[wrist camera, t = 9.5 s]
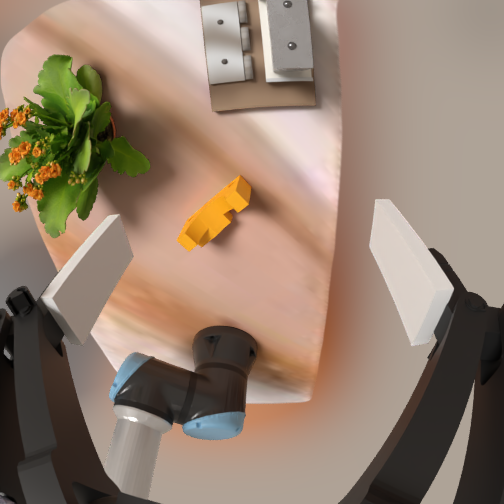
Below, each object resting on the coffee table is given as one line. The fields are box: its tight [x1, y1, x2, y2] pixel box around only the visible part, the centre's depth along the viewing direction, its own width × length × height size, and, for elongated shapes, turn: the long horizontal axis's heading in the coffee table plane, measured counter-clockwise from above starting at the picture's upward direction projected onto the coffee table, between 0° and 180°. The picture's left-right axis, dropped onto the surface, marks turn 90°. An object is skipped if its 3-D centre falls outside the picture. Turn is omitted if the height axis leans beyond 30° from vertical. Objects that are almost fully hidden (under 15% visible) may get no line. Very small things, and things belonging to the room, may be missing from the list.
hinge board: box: [200, 0, 316, 112], centre depth 29 cm, size 20×14×2 cm
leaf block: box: [266, 0, 313, 72], centre depth 25 cm, size 10×4×9 cm, turn 5°
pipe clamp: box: [177, 175, 251, 251], centre depth 43 cm, size 12×4×6 cm, turn 131°
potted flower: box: [0, 54, 150, 238], centre depth 31 cm, size 25×24×18 cm
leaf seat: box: [258, 0, 313, 82], centre depth 28 cm, size 13×6×2 cm, turn 5°
